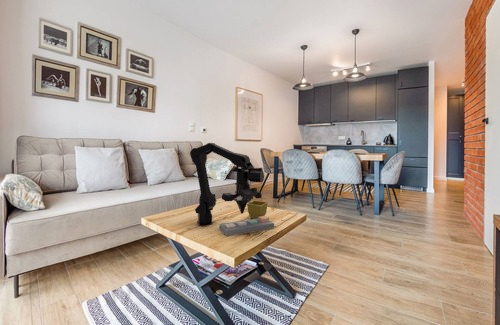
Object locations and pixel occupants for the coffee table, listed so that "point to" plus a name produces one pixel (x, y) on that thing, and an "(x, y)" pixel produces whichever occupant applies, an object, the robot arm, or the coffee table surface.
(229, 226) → the key
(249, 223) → the key
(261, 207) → the flower pot
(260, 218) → the key
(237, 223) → the key
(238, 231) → the keyguard frame
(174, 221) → the coffee table surface
